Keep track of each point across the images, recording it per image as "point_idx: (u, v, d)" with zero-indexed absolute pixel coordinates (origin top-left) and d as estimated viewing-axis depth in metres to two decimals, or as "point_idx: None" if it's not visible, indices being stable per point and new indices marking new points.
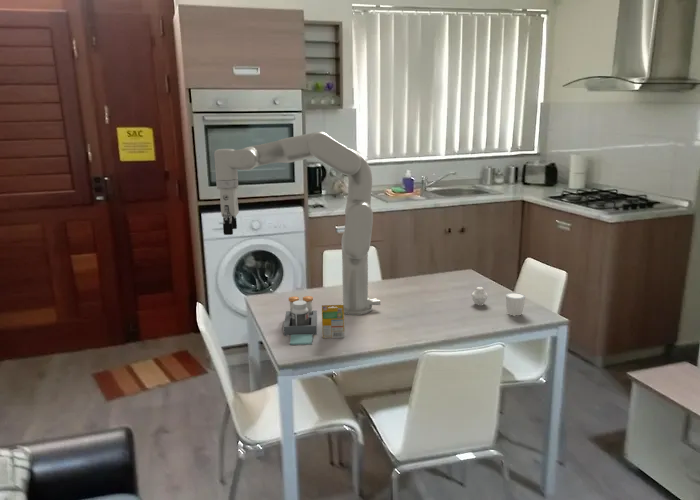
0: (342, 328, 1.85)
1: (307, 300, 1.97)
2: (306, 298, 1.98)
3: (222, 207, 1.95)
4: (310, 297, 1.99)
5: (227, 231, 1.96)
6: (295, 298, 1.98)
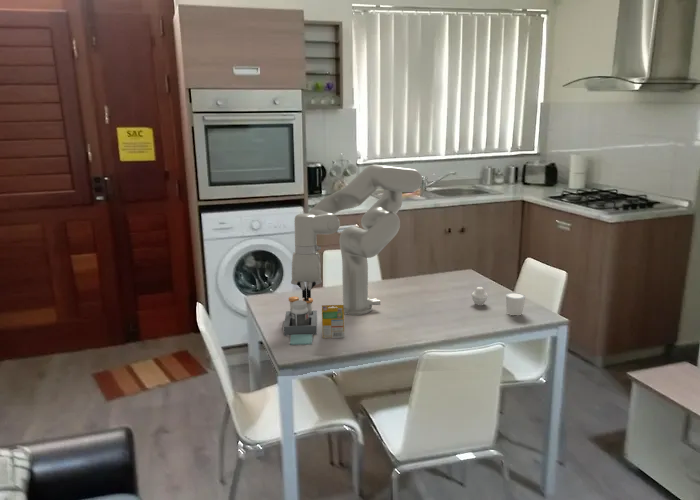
0: (342, 328, 1.85)
1: (307, 302, 1.97)
2: (306, 300, 1.98)
3: (320, 270, 1.95)
4: (310, 299, 1.99)
5: (310, 296, 1.98)
6: (295, 298, 1.98)
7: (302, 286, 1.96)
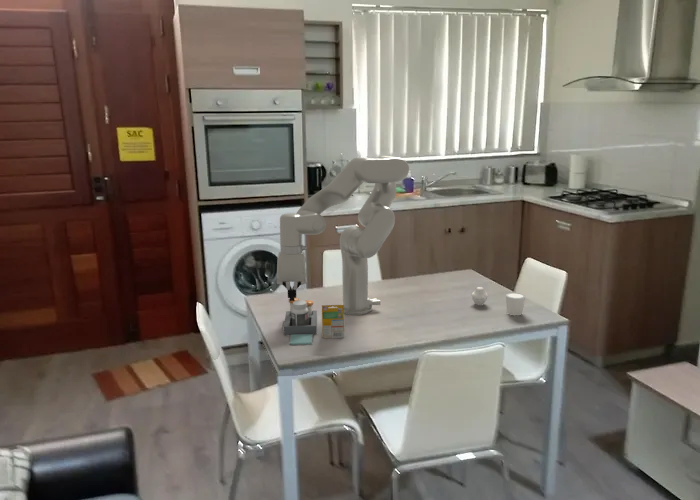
0: (342, 328, 1.85)
1: (307, 304, 1.97)
2: None
3: (305, 270, 1.94)
4: (310, 301, 1.99)
5: None
6: (295, 299, 1.98)
7: (287, 286, 1.96)
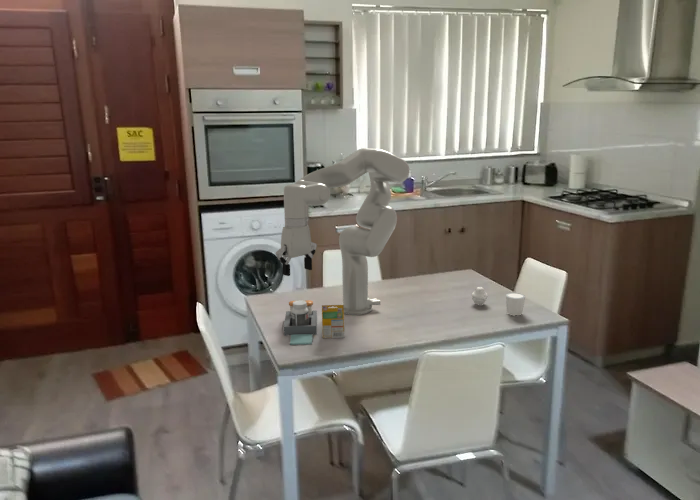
0: (342, 328, 1.85)
1: (307, 304, 1.97)
2: (306, 302, 1.98)
3: None
4: (310, 301, 1.99)
5: None
6: None
7: (286, 260, 1.82)
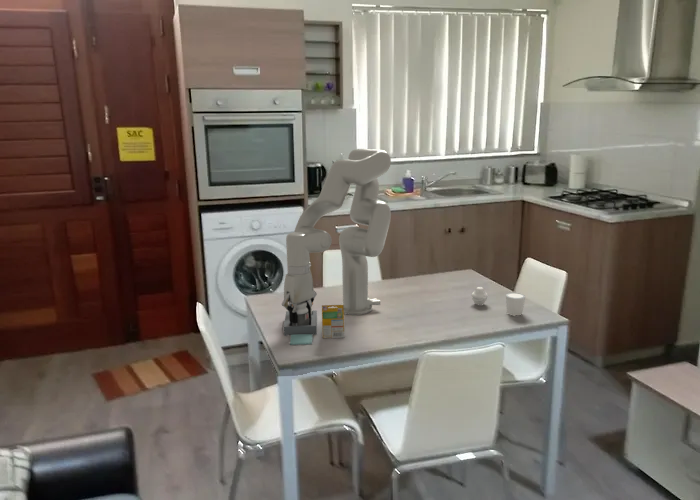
0: (342, 328, 1.85)
1: None
2: None
3: None
4: None
5: None
6: None
7: (293, 309, 1.87)
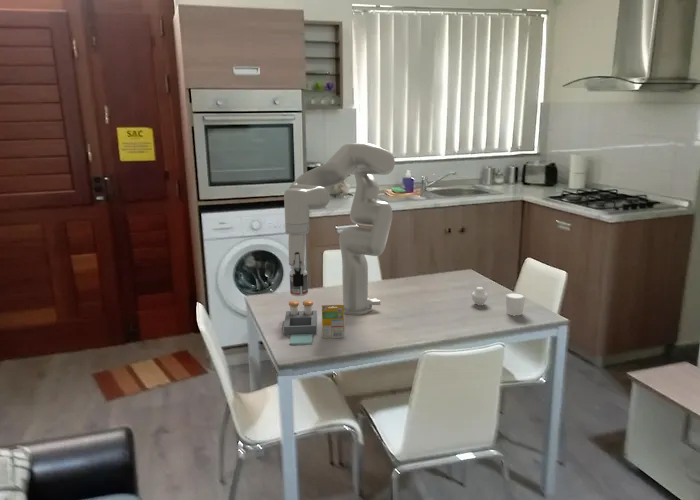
0: (342, 328, 1.85)
1: (307, 304, 1.97)
2: (306, 302, 1.98)
3: None
4: (310, 301, 1.99)
5: None
6: (295, 302, 1.98)
7: None
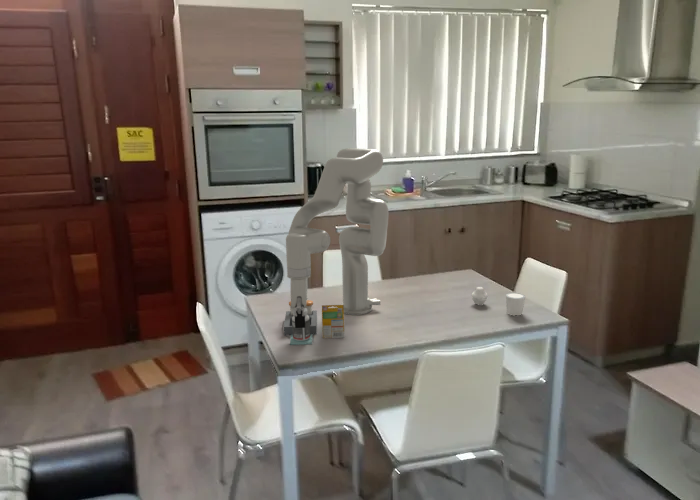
0: (342, 328, 1.85)
1: (307, 304, 1.97)
2: None
3: None
4: (310, 301, 1.99)
5: None
6: None
7: (303, 312, 1.76)
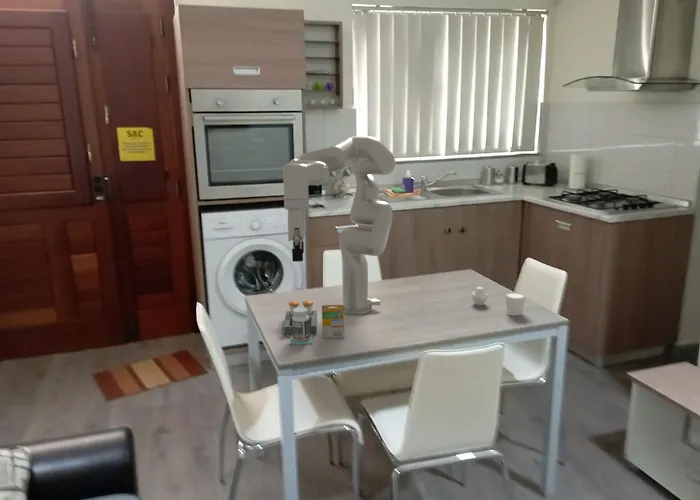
0: (342, 328, 1.85)
1: (307, 304, 1.97)
2: (306, 302, 1.98)
3: None
4: (310, 301, 1.99)
5: None
6: (295, 302, 1.98)
7: (301, 244, 1.70)
